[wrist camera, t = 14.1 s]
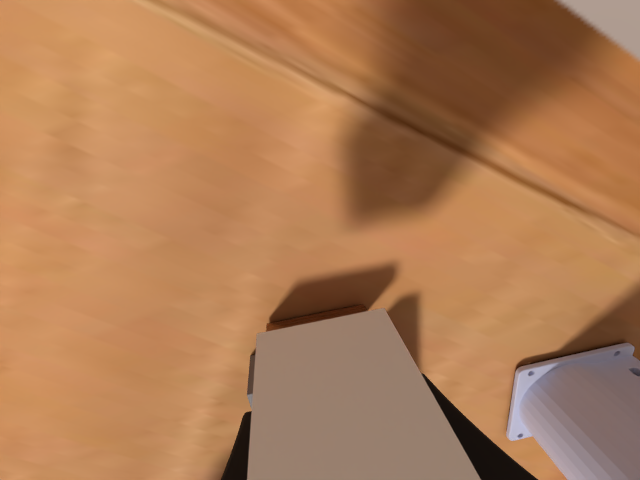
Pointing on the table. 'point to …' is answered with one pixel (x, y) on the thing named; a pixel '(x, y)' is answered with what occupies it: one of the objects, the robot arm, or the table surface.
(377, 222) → the table surface
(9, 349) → the table surface
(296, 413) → the block
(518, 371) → the robot arm
